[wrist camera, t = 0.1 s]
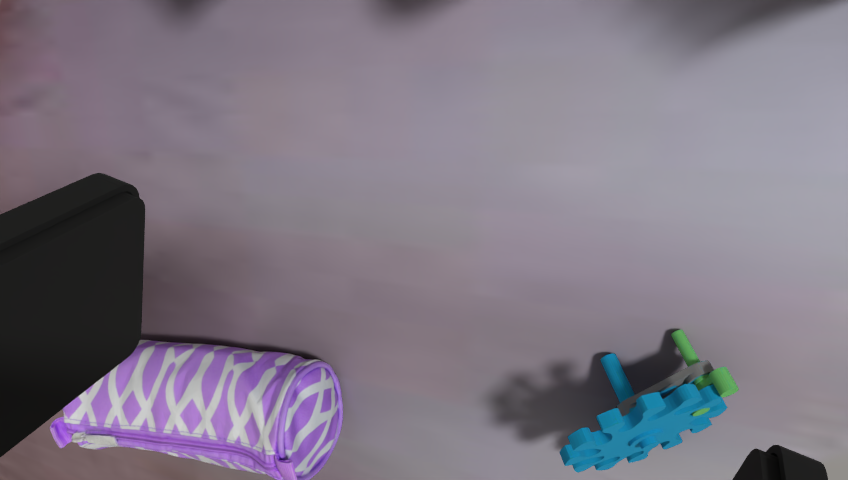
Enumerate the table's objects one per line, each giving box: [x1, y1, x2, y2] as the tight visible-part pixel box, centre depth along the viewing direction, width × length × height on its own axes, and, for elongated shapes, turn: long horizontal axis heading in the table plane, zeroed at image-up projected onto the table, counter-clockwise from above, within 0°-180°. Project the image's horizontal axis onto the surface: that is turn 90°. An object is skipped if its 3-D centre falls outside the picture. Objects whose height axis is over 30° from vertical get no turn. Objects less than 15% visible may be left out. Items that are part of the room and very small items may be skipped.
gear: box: [560, 330, 739, 472], centre depth 42 cm, size 11×6×10 cm
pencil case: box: [50, 340, 343, 480], centre depth 53 cm, size 22×9×10 cm, turn 101°
